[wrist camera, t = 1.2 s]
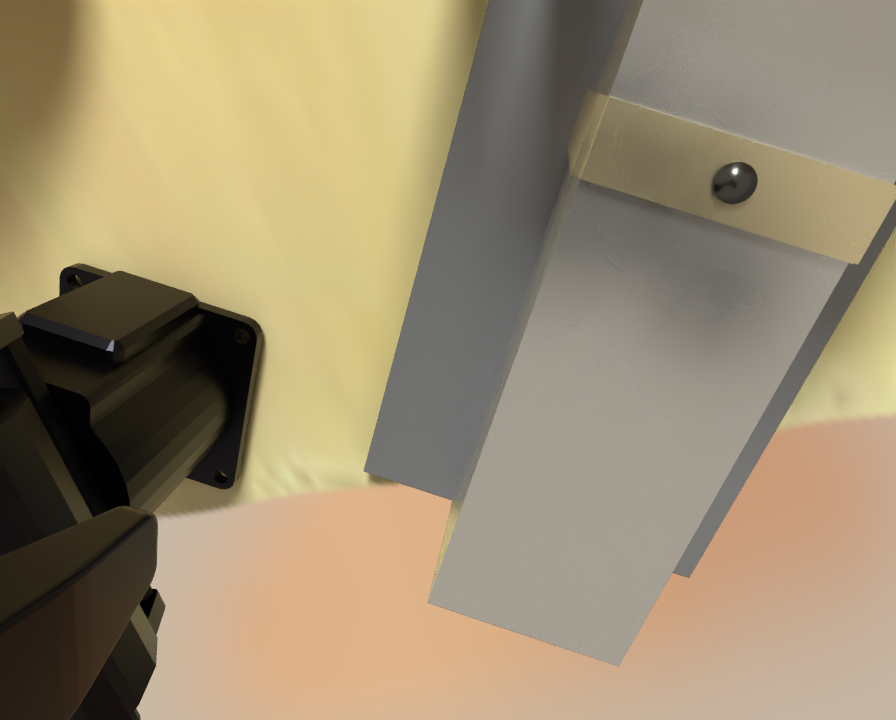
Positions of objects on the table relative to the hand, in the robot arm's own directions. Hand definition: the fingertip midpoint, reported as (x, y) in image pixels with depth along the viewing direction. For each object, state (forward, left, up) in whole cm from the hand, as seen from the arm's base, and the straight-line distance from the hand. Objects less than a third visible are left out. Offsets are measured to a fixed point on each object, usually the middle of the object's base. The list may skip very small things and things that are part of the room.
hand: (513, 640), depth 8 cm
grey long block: (+1, -2, -11) cm, 12 cm away
